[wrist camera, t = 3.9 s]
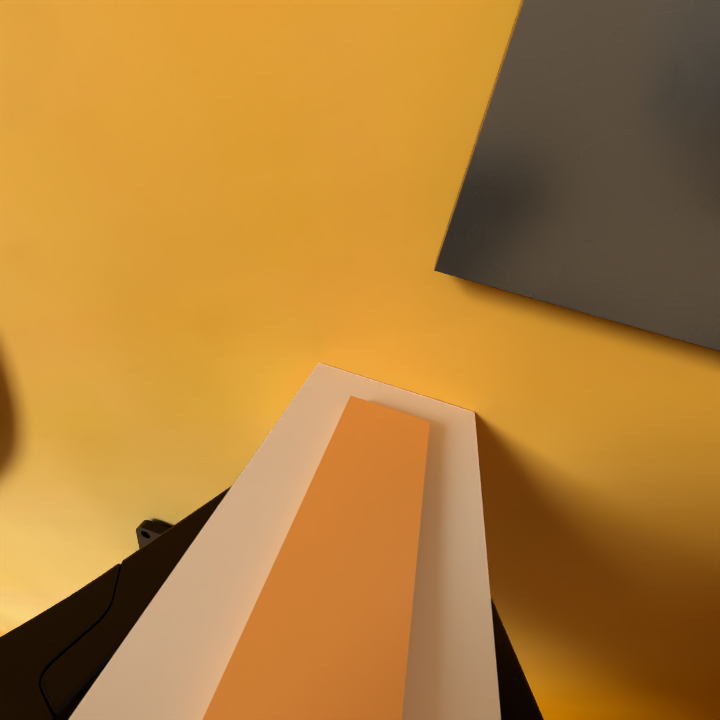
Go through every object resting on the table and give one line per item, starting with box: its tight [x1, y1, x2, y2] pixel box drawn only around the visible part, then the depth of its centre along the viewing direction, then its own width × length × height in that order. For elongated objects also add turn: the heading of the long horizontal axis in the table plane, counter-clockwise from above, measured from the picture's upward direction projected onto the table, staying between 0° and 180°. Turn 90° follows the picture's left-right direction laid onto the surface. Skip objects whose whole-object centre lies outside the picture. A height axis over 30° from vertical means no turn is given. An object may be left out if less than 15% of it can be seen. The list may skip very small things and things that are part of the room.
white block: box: [68, 363, 501, 720], centre depth 7 cm, size 5×5×9 cm
